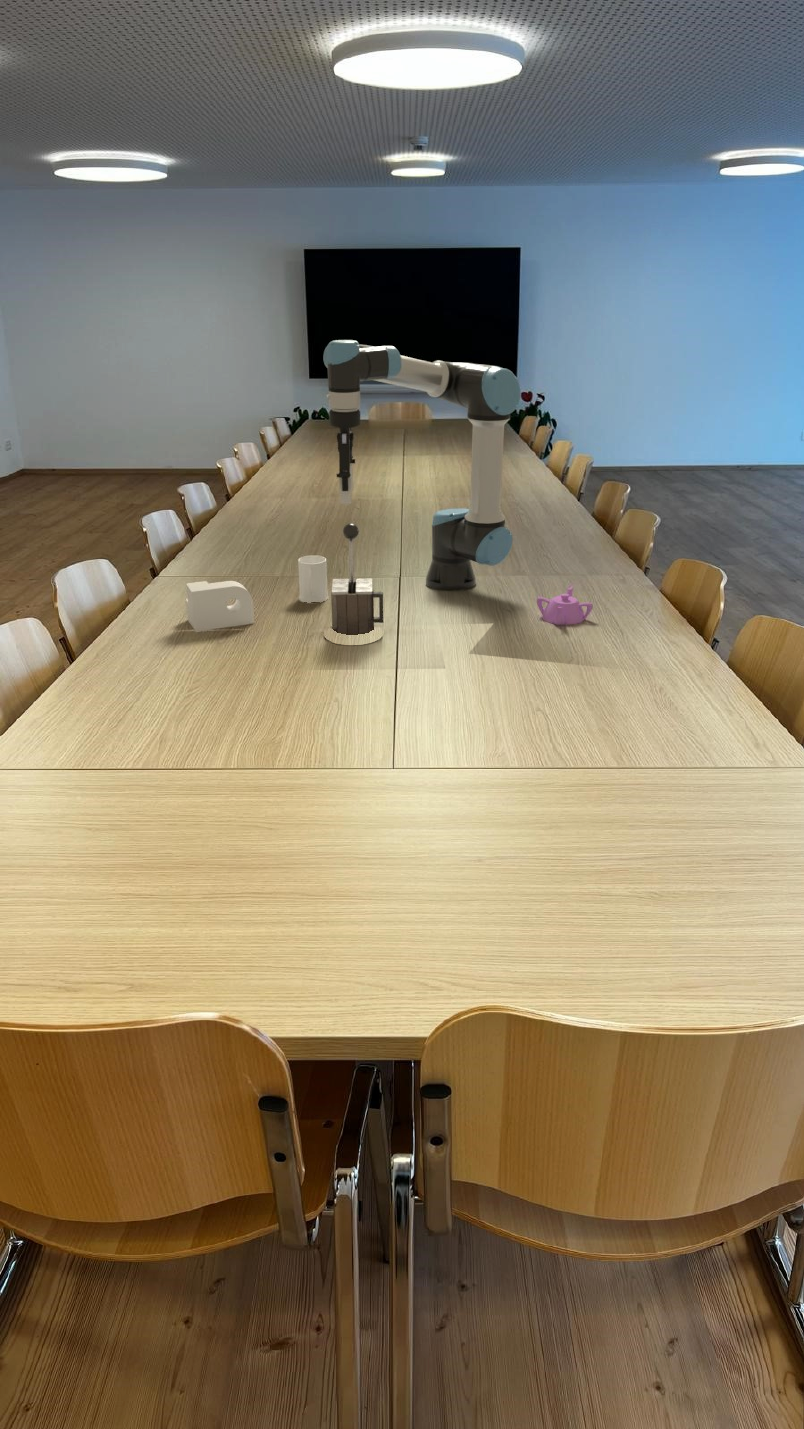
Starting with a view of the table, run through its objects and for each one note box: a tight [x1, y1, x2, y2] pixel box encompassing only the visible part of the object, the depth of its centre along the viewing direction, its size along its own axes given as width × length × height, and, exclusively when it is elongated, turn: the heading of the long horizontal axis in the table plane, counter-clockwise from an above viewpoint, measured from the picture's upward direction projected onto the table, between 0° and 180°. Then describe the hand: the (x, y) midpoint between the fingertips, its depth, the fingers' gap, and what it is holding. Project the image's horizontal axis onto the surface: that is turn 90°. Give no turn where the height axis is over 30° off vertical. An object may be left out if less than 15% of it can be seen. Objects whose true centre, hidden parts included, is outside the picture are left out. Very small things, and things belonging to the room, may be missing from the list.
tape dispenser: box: [185, 580, 255, 633], centre depth 263 cm, size 16×10×13 cm, turn 113°
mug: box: [297, 554, 330, 604], centre depth 280 cm, size 12×8×12 cm
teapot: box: [536, 584, 594, 626], centre depth 263 cm, size 12×14×9 cm
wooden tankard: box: [330, 577, 384, 635], centre depth 257 cm, size 14×12×13 cm
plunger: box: [342, 523, 360, 594], centre depth 251 cm, size 7×7×21 cm
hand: (346, 496), depth 244 cm, fingers open, 13 cm apart
